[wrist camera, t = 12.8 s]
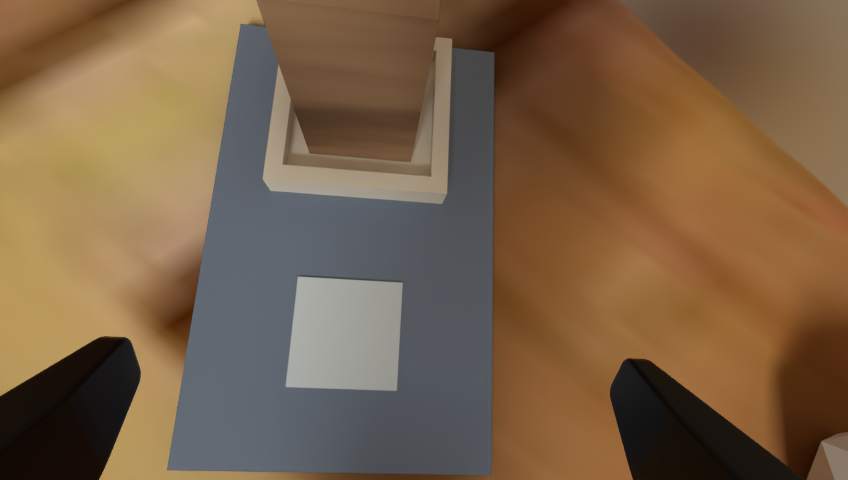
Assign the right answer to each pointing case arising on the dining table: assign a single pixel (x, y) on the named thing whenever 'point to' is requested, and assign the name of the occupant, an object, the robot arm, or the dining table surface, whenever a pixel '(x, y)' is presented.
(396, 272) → the board
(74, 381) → the robot arm
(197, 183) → the dining table surface
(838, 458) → the die
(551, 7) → the dining table surface
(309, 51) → the pillar
